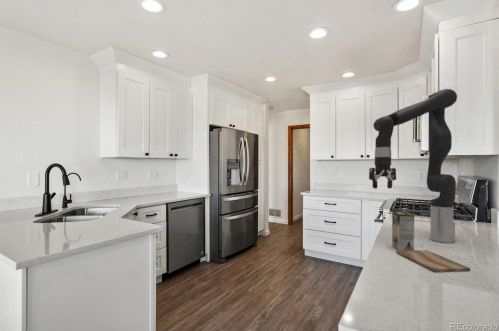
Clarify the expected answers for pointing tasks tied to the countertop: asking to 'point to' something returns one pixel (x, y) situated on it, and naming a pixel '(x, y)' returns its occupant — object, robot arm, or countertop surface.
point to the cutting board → (432, 261)
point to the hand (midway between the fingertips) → (382, 188)
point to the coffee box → (403, 231)
